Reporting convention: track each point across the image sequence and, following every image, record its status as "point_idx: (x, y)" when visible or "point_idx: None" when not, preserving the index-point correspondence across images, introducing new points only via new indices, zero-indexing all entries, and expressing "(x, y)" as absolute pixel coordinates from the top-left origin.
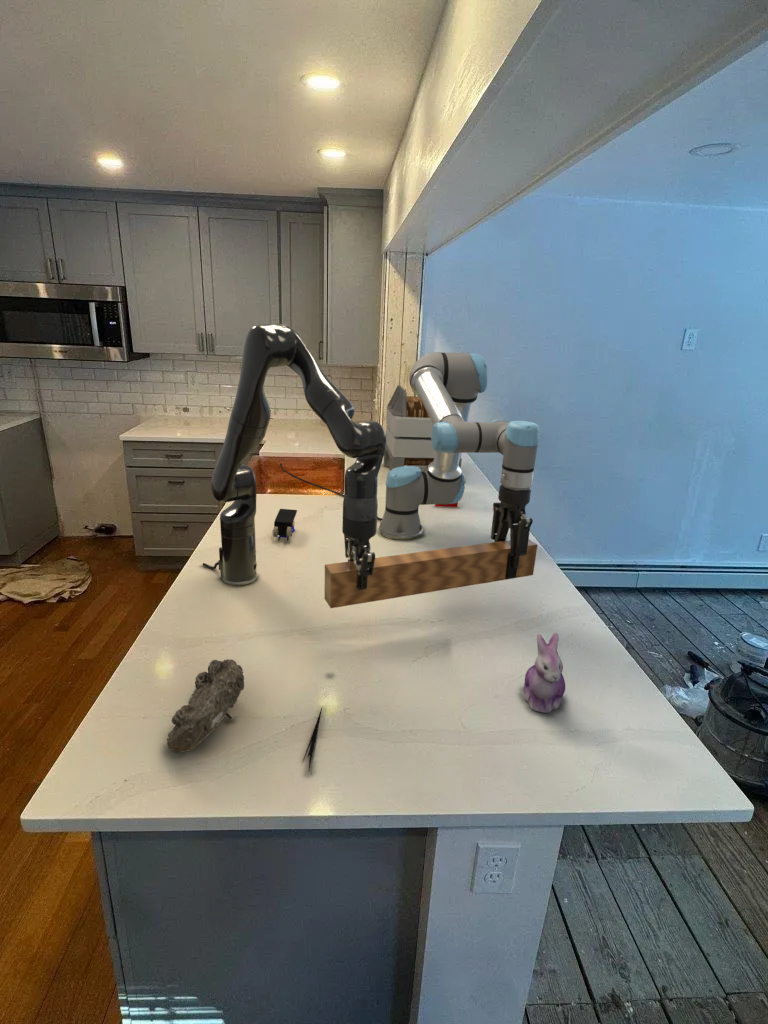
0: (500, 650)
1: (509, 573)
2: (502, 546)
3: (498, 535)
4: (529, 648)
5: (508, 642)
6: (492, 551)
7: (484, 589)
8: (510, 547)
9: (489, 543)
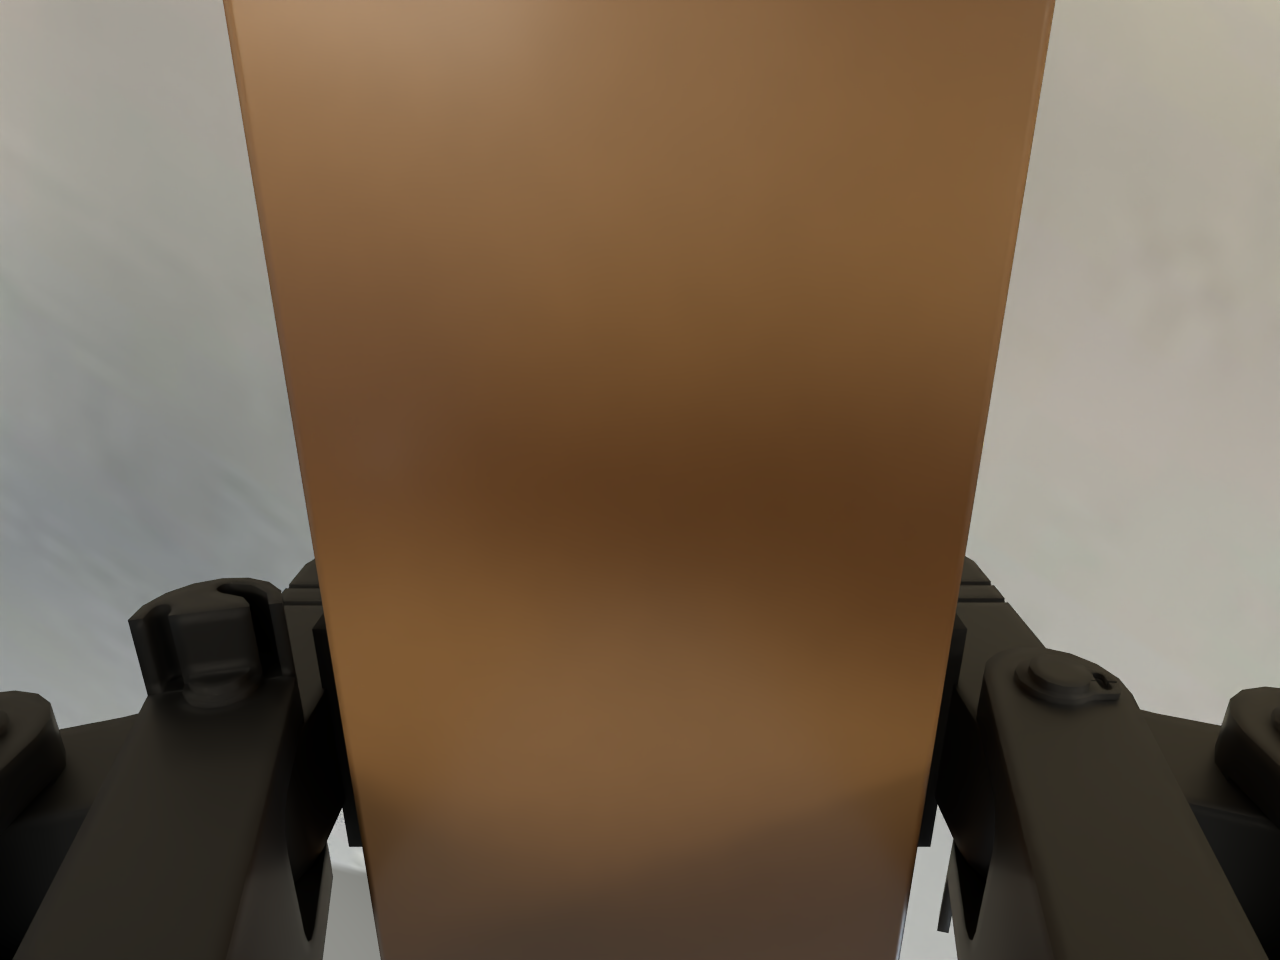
0: (123, 23)
1: None
2: (547, 643)
3: (1081, 898)
4: (126, 287)
5: (231, 171)
6: (234, 48)
7: (1049, 468)
8: (415, 809)
9: (927, 361)
